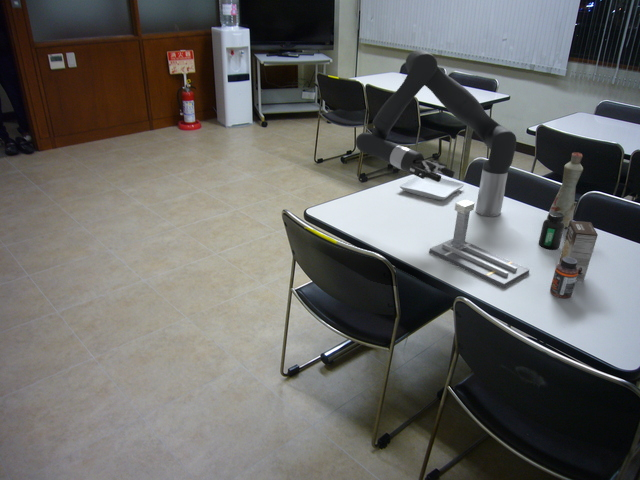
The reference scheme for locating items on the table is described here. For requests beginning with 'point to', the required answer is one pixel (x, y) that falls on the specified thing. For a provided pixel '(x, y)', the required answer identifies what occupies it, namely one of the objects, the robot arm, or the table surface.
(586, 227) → the coffee box
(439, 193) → the salad plate
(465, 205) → the post
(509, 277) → the slider rail base
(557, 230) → the supplement bottle
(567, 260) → the supplement bottle
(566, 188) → the bottle
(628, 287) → the table surface
